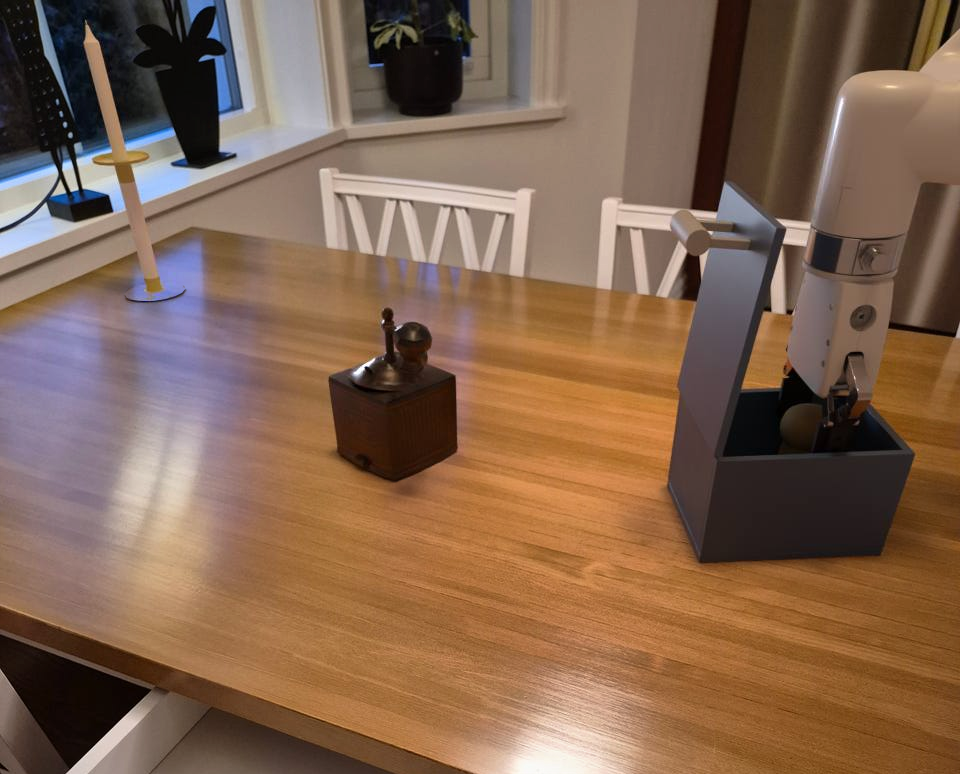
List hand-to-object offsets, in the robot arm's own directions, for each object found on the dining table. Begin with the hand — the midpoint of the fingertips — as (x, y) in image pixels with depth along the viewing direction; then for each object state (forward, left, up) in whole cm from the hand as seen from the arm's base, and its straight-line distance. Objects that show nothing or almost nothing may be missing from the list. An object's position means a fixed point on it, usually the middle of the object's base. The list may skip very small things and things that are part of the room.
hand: (808, 439), depth 82 cm
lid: (+7, +7, +12) cm, 15 cm away
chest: (+2, +2, -9) cm, 9 cm away
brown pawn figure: (0, 0, -8) cm, 8 cm away
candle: (+114, +10, -9) cm, 114 cm away
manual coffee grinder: (+38, +19, -9) cm, 43 cm away
